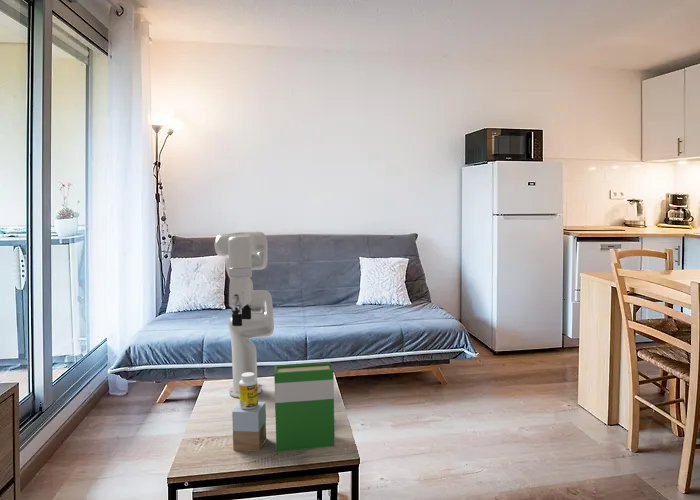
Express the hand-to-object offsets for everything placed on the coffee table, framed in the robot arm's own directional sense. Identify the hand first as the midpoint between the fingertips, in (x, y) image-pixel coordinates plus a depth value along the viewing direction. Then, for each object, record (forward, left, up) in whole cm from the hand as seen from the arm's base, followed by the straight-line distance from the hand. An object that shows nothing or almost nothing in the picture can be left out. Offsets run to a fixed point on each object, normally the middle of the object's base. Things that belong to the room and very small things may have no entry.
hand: (242, 322), depth 165 cm
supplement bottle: (+17, +7, -23) cm, 29 cm away
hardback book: (+15, +24, -34) cm, 45 cm away
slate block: (+17, +7, -28) cm, 34 cm away
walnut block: (+17, +7, -34) cm, 39 cm away
